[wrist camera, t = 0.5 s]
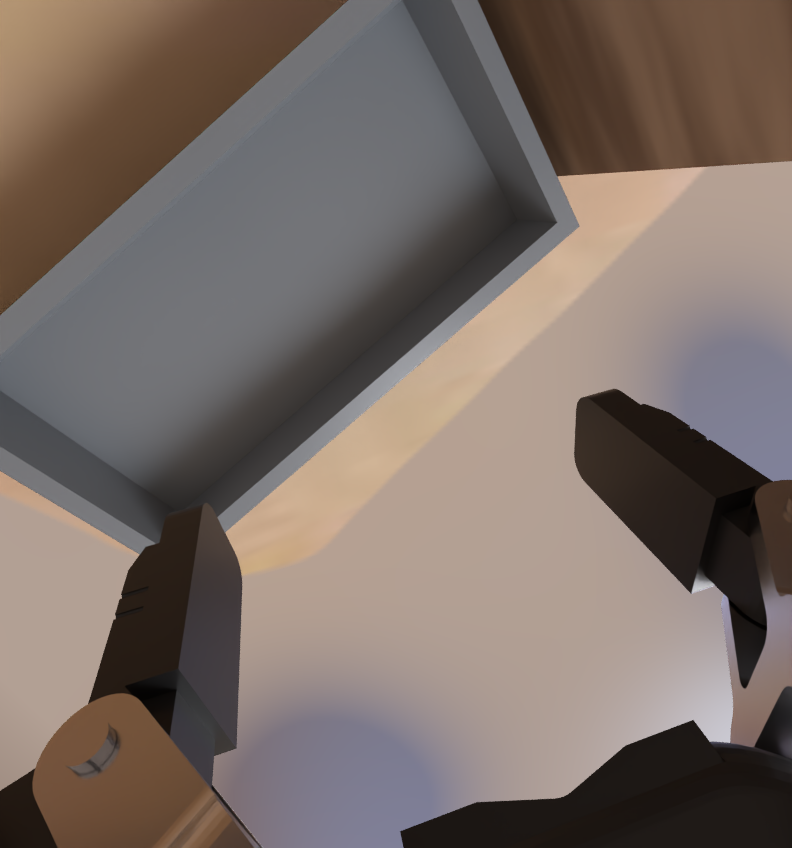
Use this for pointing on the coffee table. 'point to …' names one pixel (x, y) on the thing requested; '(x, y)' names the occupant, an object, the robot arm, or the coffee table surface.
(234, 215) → the tray
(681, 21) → the stand
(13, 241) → the coffee table surface
